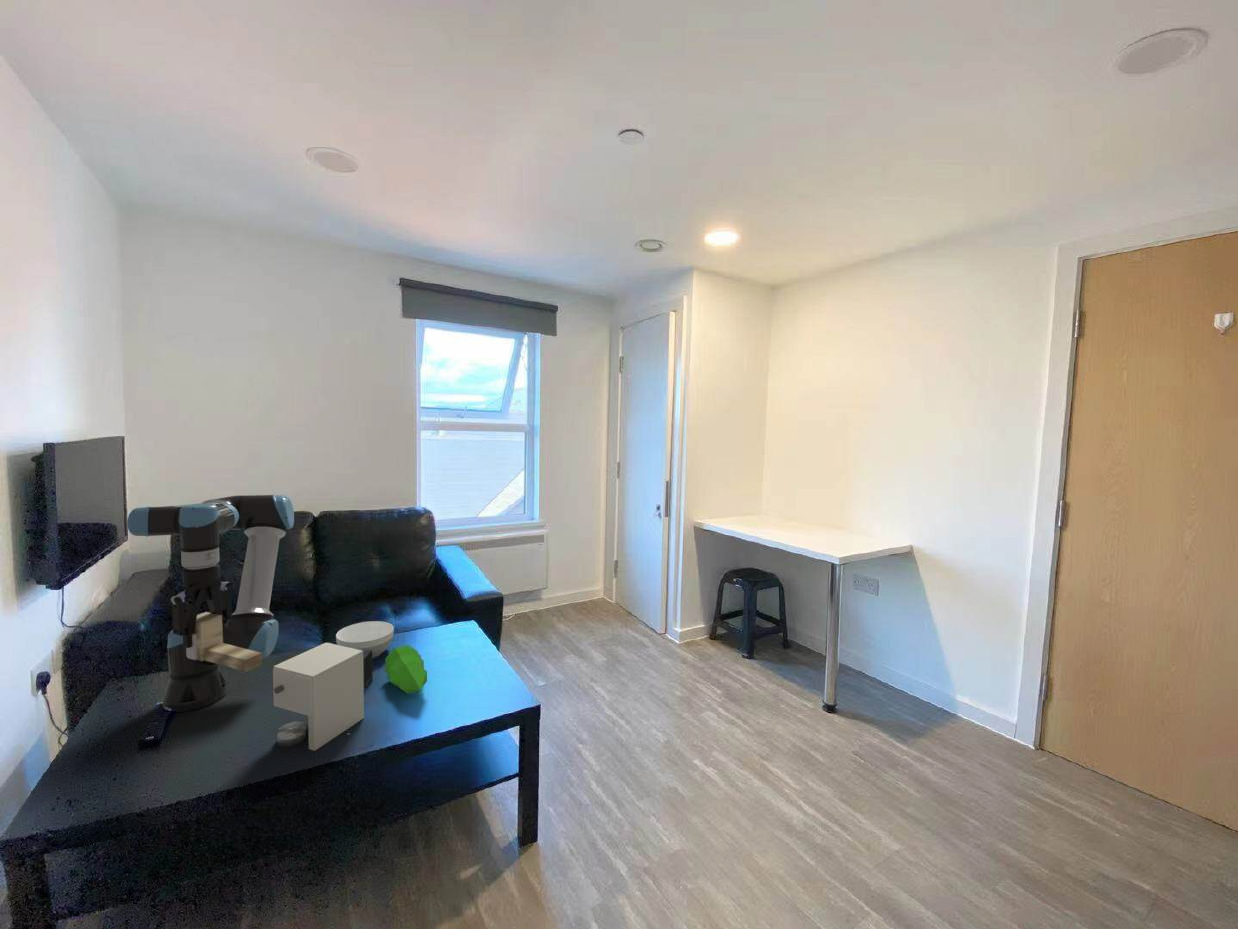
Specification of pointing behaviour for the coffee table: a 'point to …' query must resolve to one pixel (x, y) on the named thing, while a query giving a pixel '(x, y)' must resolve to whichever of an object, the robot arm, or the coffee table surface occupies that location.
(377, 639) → the bowl
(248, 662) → the tan l-shaped block
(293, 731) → the grey rounded puck
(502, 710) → the coffee table surface
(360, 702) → the cabinet
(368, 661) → the small box
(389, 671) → the decorative tree
